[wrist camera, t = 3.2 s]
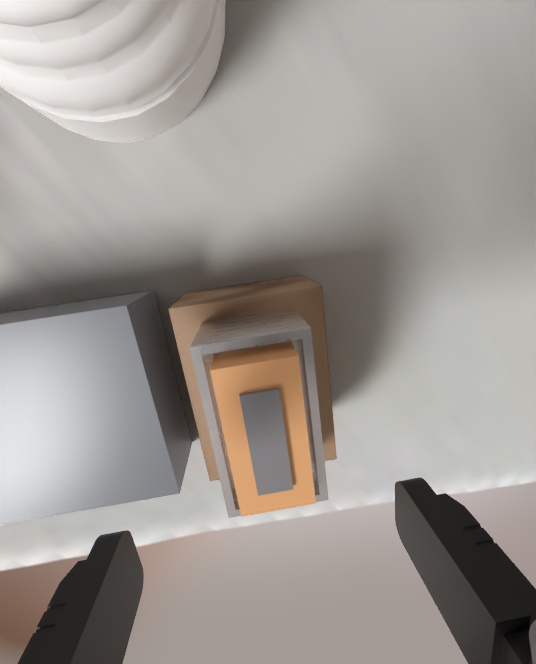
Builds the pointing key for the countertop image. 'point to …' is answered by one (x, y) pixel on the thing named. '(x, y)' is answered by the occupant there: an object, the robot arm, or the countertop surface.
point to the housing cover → (264, 427)
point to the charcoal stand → (87, 408)
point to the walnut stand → (246, 303)
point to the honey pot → (111, 61)
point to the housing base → (247, 337)
